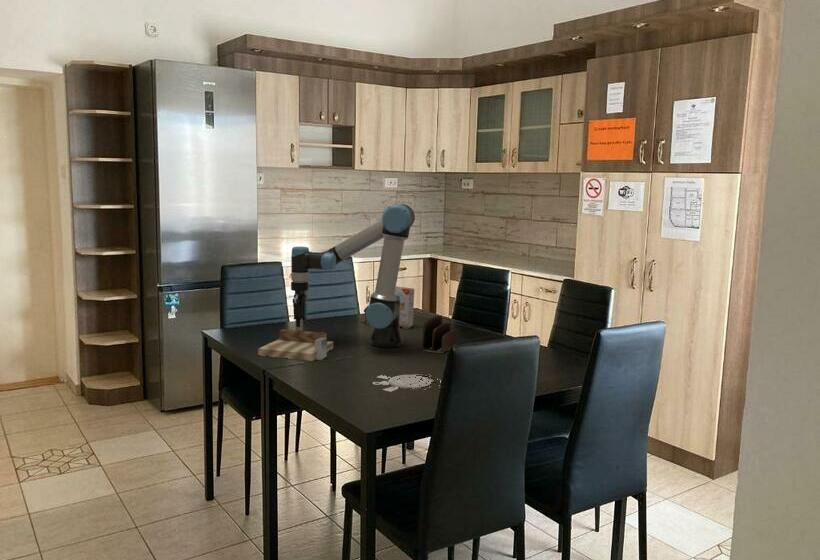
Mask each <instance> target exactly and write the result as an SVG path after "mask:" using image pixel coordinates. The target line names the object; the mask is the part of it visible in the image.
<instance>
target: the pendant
mask: <svg viewBox="0 0 820 560" xmlns="http://www.w3.org/2000/svg"><path fill="white" fill-rule="evenodd" d="M383 375H384V374H381V375H378V376H376V378H378V379H384V380H382V381H381V382H380V381H373V382H372V384H373V385H374V386H375V385H376V386H377V385H382V386H388V385H391V386H390V387H386V388H383V389H382V390H383V391H386V392H390V393H392V392H393V391H396V390H398V389H399V387H400V389H407V388H412V389H411V390H418V389H422V388H421V387H425V386H428V385H429V386H431V385H432V383H431V382H433V381H434V380H433V379H430V378H428V377H422V376H416V375H418V374H416V373H414V374H402V375H396V376H392V378H391V376H388V377H387V375H384V376H383ZM420 375H422V374H420ZM409 377H410V378H409ZM415 377H416V378H415ZM429 377H431V375H430V376H429ZM388 378H390V379H388ZM399 378H400V379H399ZM421 378H422V380H423V381H422V380H420V379H421ZM397 379H398V380H397ZM438 379H439V378H437V380H438ZM386 380H387V381H386ZM439 380H440V383H441V381H442V380H441V379H439ZM419 381H420V382H419ZM428 381H429V382H428ZM426 383H427V384H426ZM410 384H411V385H410ZM430 384H431V385H430ZM419 385H420V386H419ZM439 386H440V385H439ZM415 388H416V389H415ZM417 388H418V389H417ZM426 389H427V388H426V387H425V389H424V390H426Z"/></svg>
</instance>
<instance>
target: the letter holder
mask: <svg viewBox="0 0 820 560" xmlns="http://www.w3.org/2000/svg"><path fill="white" fill-rule="evenodd" d="M421 341H422V343H421V345H422V346H421V350H422V349H423V350H431V351H437V350H438V349H440V348H442V351H441V352H443V351H446V349H447V352H449V351H448V348H450V347H451V346H453V344H454V345H455V344H456V343H459V342H460V330H459V329H458V328H456V329H452V330H451V323H450V322H446V323H443V317H442V315H436V316H433V317H431V318H429V319H427V320H426V321H424V323H423V330H422V340H421ZM459 344H460V343H459ZM456 345H457V344H456ZM431 347H432V349H431ZM429 348H430V349H429Z"/></svg>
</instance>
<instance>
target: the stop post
mask: <svg viewBox="0 0 820 560" xmlns="http://www.w3.org/2000/svg"><path fill="white" fill-rule="evenodd" d="M327 341H328V338H318V339H316V340H315V360H314V361H316V360H317V361H323V360H325V359H326V358H327V353H328V352H327ZM325 357H326V358H325Z"/></svg>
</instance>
